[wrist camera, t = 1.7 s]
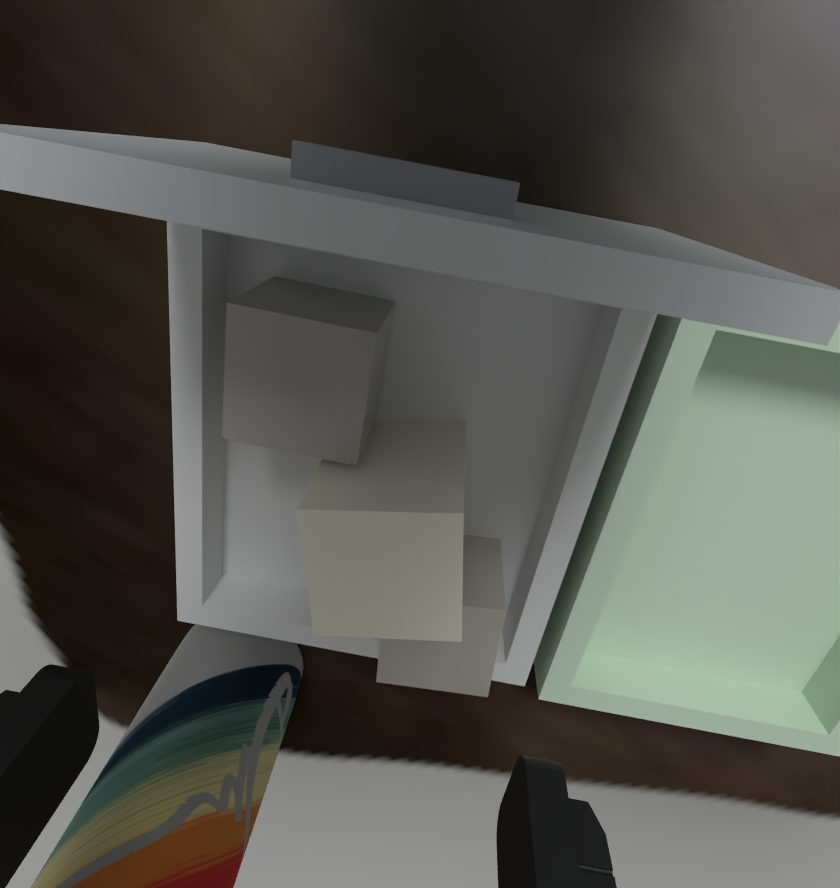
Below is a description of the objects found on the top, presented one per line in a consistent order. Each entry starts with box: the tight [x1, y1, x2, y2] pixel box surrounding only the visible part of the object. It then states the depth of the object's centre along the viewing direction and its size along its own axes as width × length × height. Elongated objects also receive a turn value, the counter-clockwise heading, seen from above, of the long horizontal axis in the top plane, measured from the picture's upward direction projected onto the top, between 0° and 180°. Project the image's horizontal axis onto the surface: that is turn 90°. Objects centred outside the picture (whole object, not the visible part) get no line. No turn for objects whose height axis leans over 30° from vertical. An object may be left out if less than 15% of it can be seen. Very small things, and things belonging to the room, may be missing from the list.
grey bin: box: [167, 221, 657, 686], centre depth 20 cm, size 16×14×2 cm
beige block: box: [296, 420, 466, 642], centre depth 19 cm, size 4×4×6 cm
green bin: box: [534, 314, 840, 756], centre depth 20 cm, size 16×12×3 cm
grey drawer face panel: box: [0, 124, 840, 346], centre depth 13 cm, size 1×14×10 cm, turn 80°
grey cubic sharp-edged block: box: [222, 276, 396, 466], centre depth 18 cm, size 4×4×4 cm
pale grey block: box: [376, 535, 506, 697], centre depth 21 cm, size 4×4×4 cm
